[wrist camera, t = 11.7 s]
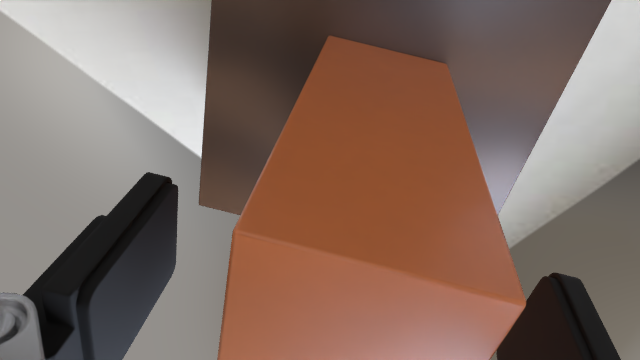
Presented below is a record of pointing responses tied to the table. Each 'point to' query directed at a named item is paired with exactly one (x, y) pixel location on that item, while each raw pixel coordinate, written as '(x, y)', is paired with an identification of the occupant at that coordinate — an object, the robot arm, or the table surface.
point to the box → (370, 225)
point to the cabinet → (396, 35)
